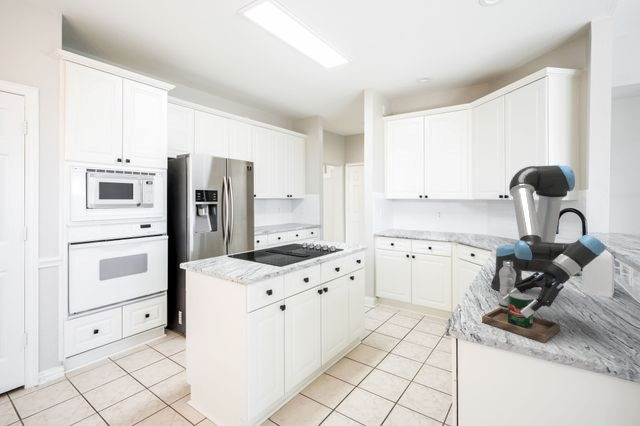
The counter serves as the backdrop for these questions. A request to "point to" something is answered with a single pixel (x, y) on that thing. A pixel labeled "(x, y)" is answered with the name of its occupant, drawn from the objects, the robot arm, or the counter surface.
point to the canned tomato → (515, 306)
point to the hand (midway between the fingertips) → (513, 307)
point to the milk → (599, 276)
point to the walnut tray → (538, 332)
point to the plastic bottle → (506, 281)
